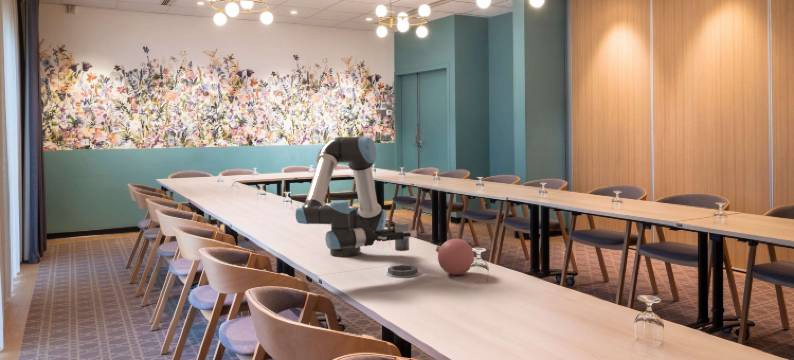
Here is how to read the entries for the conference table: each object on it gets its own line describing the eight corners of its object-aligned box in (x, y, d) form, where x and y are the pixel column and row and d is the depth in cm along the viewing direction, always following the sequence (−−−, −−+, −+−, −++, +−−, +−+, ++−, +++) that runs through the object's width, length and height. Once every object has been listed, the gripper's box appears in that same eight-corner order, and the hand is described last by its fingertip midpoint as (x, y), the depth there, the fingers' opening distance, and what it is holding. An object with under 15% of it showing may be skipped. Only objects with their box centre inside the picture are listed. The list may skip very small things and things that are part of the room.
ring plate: (381, 271, 270) (381, 266, 270) (410, 268, 276) (410, 262, 275) (394, 279, 257) (394, 273, 257) (424, 275, 263) (424, 269, 263)
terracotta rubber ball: (452, 266, 278) (452, 232, 276) (481, 275, 261) (481, 239, 260) (424, 271, 270) (424, 236, 268) (452, 281, 253) (452, 243, 251)
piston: (393, 248, 267) (392, 222, 266) (405, 247, 269) (405, 221, 268) (398, 251, 261) (398, 224, 260) (411, 250, 264) (411, 223, 263)
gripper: (354, 242, 266) (403, 237, 276) (371, 250, 249) (422, 244, 259) (354, 225, 265) (403, 220, 275) (371, 231, 248) (422, 226, 258)
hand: (412, 232), depth 267 cm, fingers closed on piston, 6 cm apart
